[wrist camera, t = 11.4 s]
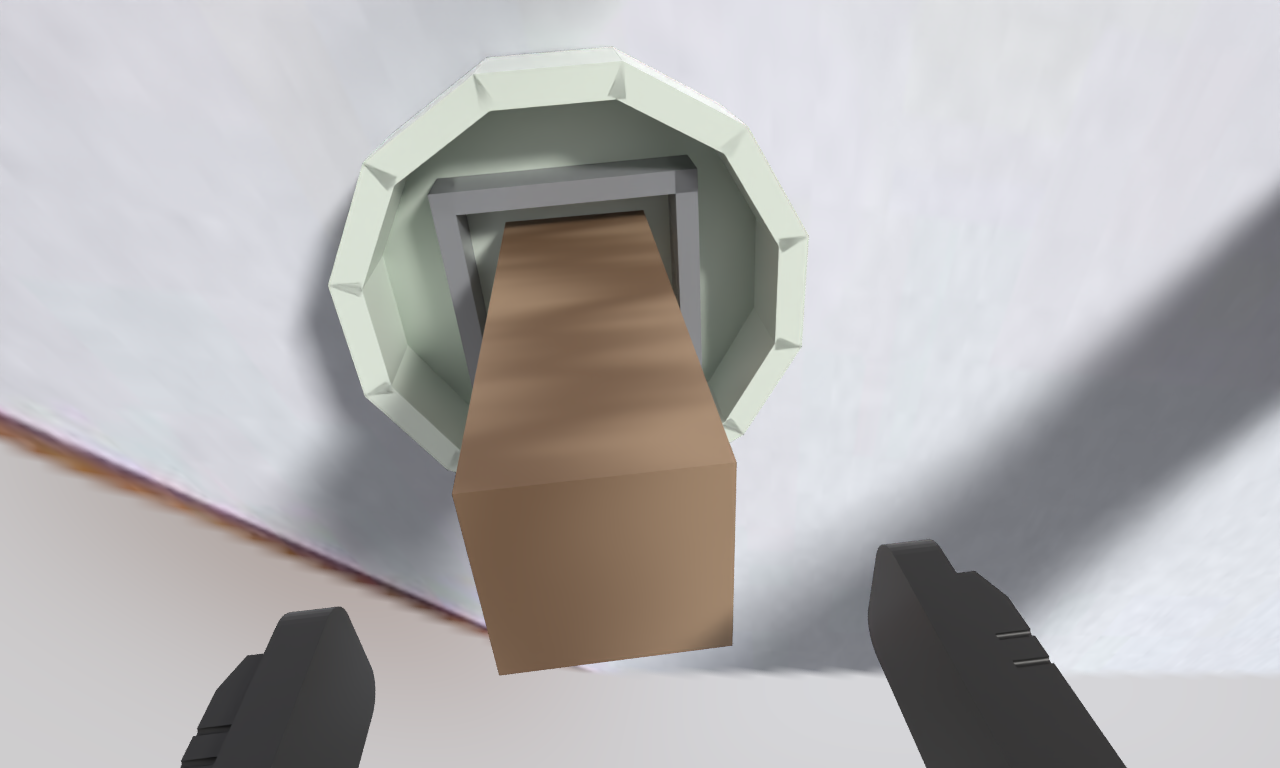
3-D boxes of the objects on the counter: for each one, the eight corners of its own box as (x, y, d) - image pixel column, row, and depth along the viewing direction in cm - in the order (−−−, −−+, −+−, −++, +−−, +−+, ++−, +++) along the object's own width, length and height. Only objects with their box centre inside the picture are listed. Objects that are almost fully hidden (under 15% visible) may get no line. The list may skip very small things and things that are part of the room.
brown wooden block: (643, 209, 20) (736, 462, 10) (649, 332, 22) (732, 645, 12) (505, 221, 20) (451, 493, 9) (525, 344, 22) (499, 675, 12)
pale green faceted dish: (778, 31, 19) (821, 43, 16) (765, 411, 25) (793, 470, 22) (311, 71, 18) (263, 92, 15) (423, 452, 25) (405, 518, 22)
